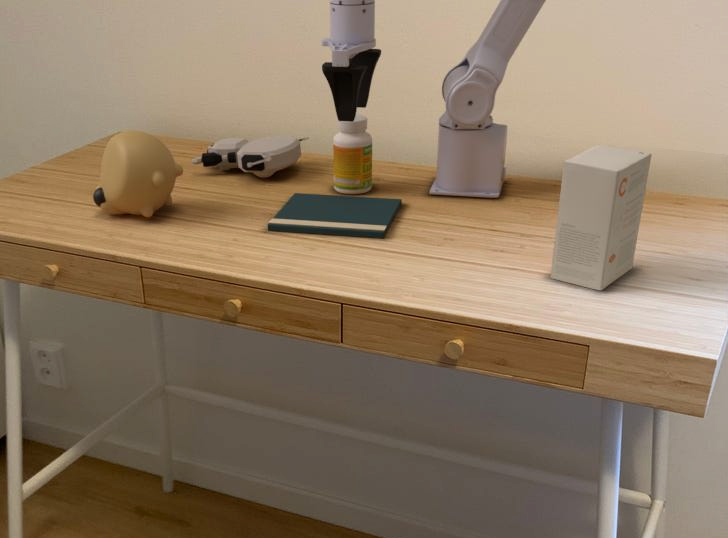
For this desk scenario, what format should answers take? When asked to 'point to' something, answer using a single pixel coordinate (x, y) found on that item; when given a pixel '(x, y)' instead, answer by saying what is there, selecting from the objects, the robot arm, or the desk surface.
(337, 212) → the teal notebook
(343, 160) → the supplement bottle
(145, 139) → the toy pig
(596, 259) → the small box
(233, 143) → the robot toy
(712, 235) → the desk surface
